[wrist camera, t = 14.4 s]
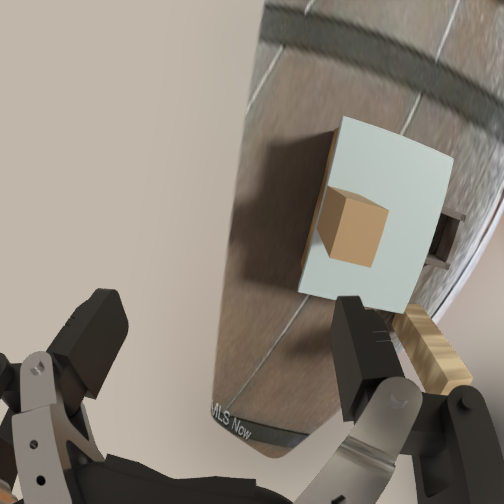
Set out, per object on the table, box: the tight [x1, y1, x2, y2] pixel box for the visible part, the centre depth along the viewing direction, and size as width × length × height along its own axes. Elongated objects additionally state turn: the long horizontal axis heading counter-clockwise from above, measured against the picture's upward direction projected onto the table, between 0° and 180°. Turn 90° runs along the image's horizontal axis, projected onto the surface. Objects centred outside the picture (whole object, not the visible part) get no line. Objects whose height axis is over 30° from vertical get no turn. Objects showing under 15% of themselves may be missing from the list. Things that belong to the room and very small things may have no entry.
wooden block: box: [391, 304, 473, 395], centre depth 28 cm, size 4×4×16 cm
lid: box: [298, 116, 454, 314], centre depth 22 cm, size 17×12×9 cm
